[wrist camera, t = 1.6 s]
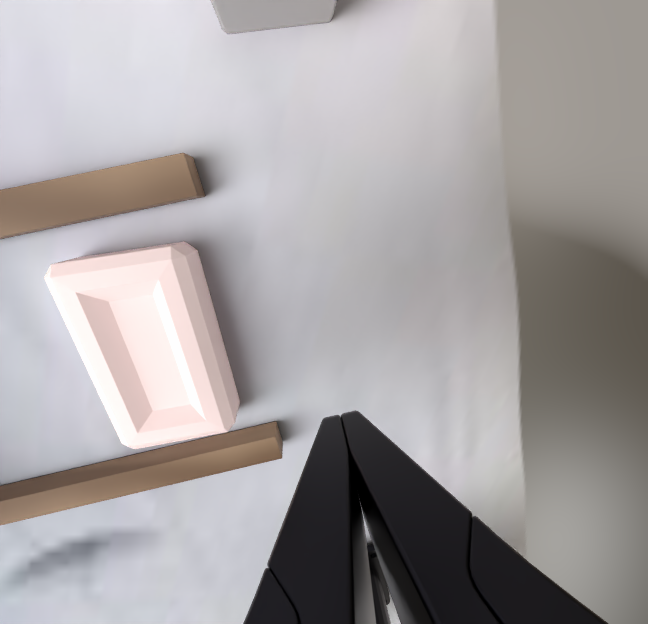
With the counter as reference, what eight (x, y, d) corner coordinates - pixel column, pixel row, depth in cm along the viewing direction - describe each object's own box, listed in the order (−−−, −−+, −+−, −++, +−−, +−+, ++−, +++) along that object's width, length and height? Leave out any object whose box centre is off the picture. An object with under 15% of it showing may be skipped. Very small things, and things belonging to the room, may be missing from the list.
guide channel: (282, 441, 18) (281, 487, 15) (-56, 522, 17) (-125, 585, 14) (193, 157, 12) (164, 143, 9) (-303, 258, 12) (-492, 276, 9)
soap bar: (144, 421, 17) (121, 456, 14) (74, 257, 13) (31, 268, 11) (242, 404, 17) (235, 435, 15) (197, 238, 14) (178, 245, 11)
